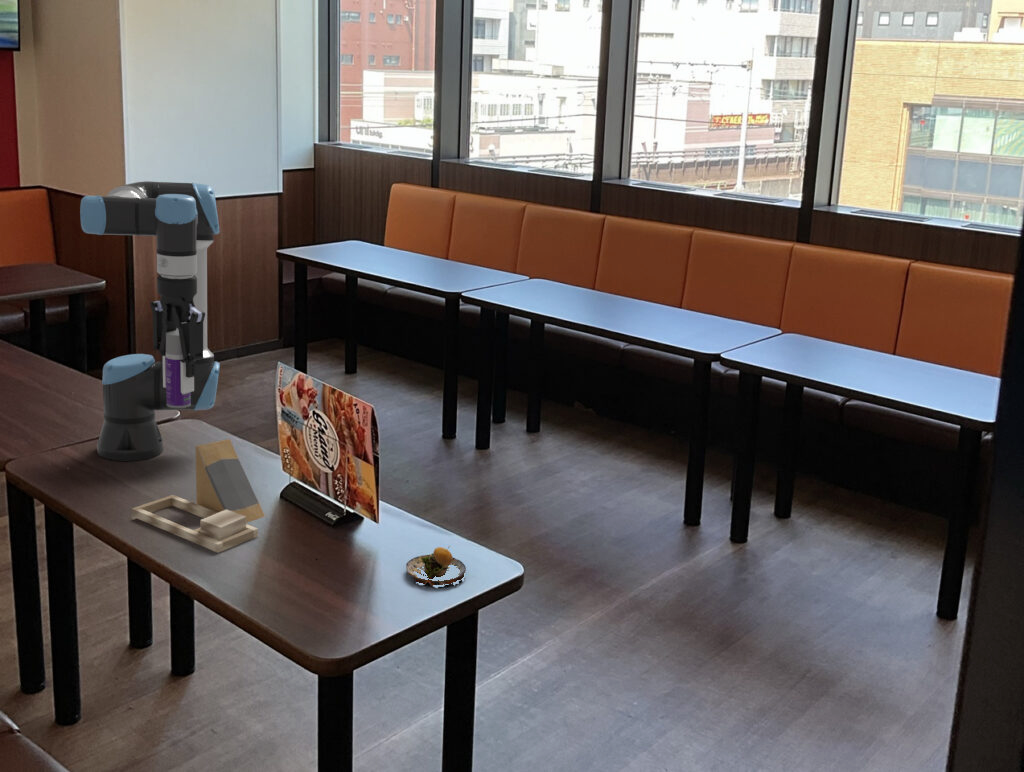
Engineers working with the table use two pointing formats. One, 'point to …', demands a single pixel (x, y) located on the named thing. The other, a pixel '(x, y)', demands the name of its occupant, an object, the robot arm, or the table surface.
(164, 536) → the table surface
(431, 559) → the plate of food
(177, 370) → the container
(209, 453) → the sandwich container
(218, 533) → the offcut top
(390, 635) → the table surface
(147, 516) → the frame
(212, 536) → the block
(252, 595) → the table surface
